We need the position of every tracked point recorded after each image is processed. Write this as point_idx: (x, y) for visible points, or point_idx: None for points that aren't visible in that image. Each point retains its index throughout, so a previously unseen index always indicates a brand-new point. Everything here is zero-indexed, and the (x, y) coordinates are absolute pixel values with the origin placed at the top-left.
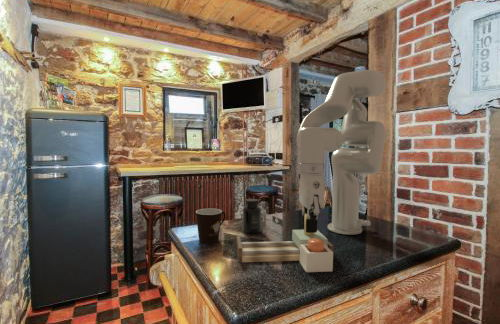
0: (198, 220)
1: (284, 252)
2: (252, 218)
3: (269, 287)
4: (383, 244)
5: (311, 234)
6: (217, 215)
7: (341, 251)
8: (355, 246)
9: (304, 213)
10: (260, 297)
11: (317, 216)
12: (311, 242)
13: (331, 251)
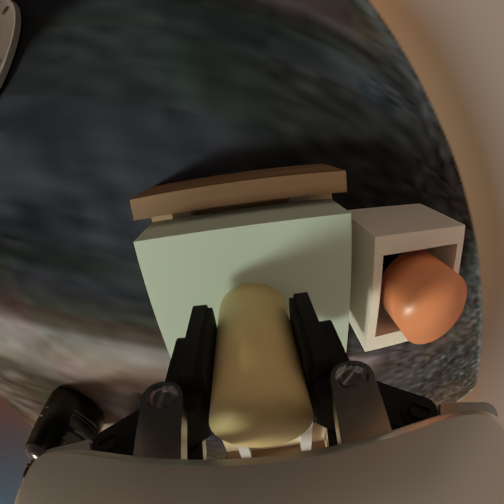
0: None
1: None
2: None
3: (442, 366)
4: None
5: (287, 309)
6: None
7: (214, 88)
8: (144, 13)
9: (202, 439)
10: (460, 372)
11: (376, 384)
12: (443, 331)
13: (456, 229)
